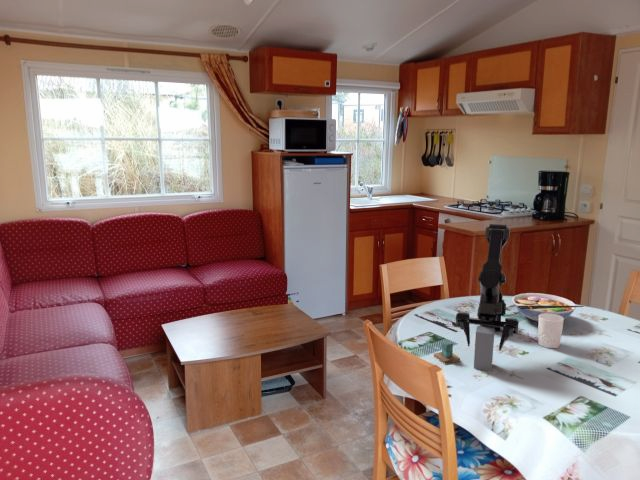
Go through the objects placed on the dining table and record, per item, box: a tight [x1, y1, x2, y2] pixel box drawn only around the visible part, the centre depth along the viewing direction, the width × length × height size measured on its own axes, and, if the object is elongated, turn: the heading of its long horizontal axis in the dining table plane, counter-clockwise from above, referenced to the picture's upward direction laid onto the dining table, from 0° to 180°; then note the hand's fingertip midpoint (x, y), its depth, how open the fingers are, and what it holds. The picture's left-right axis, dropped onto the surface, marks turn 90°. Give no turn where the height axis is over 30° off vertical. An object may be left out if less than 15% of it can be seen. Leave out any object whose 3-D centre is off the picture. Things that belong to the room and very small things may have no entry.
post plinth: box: [433, 340, 461, 364], centre depth 163 cm, size 6×6×6 cm
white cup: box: [537, 313, 565, 349], centre depth 173 cm, size 8×8×10 cm
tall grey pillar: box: [473, 325, 496, 372], centre depth 158 cm, size 5×5×12 cm
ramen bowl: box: [511, 292, 585, 323], centre depth 196 cm, size 25×23×8 cm
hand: (484, 348), depth 156 cm, fingers open, 9 cm apart
